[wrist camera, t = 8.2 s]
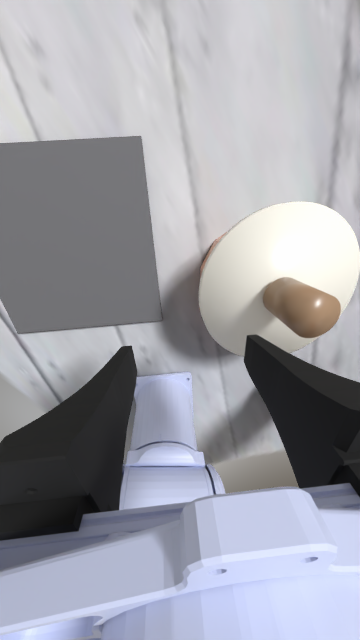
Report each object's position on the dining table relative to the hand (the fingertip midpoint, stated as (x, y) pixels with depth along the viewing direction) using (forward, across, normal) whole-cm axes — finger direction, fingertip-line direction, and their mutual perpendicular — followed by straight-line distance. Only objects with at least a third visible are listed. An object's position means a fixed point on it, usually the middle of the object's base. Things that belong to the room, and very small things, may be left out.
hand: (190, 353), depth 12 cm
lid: (+6, -8, -2) cm, 10 cm away
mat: (+10, +10, -5) cm, 16 cm away
